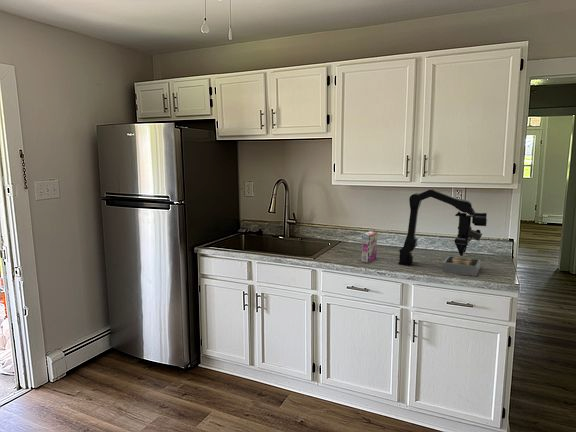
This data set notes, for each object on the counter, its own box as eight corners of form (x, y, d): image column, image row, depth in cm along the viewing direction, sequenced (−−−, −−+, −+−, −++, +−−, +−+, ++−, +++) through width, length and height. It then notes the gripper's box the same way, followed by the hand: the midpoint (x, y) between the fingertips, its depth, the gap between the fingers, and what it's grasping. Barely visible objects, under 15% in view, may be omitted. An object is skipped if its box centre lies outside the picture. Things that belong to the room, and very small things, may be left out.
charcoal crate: (442, 271, 213) (443, 262, 212) (448, 264, 226) (448, 255, 226) (476, 276, 205) (476, 266, 204) (479, 268, 218) (480, 259, 218)
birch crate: (451, 269, 215) (451, 259, 214) (453, 266, 220) (454, 257, 220) (469, 271, 210) (470, 262, 210) (471, 268, 216) (472, 259, 215)
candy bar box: (368, 263, 230) (369, 235, 227) (360, 262, 233) (361, 234, 230) (376, 259, 239) (377, 231, 236) (368, 257, 242) (369, 230, 239)
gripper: (479, 229, 200) (477, 260, 202) (483, 223, 216) (481, 252, 218) (455, 227, 205) (453, 257, 208) (461, 221, 221) (459, 249, 224)
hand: (462, 254), depth 214 cm, fingers open, 9 cm apart
